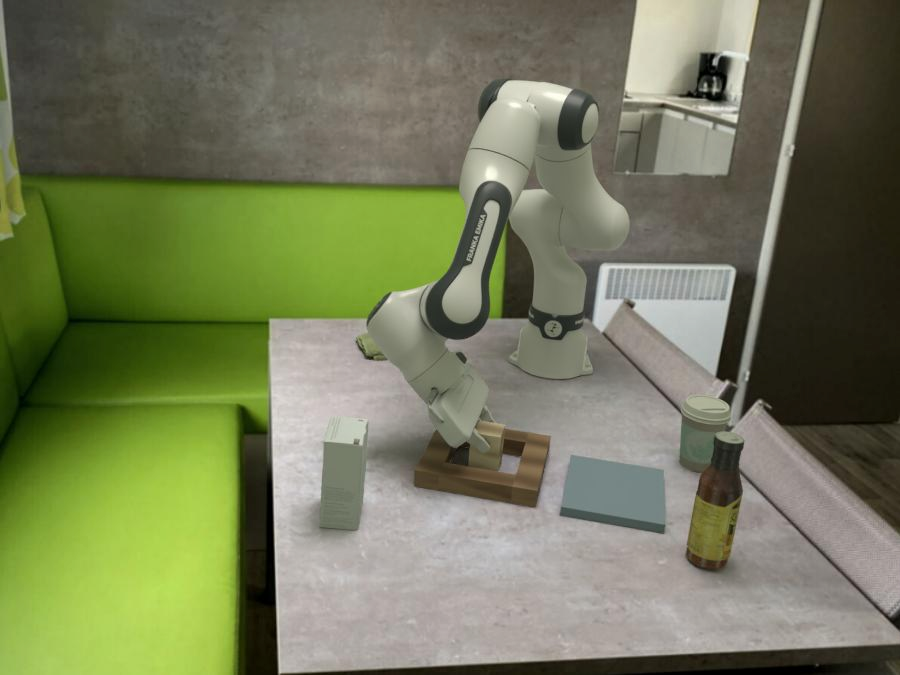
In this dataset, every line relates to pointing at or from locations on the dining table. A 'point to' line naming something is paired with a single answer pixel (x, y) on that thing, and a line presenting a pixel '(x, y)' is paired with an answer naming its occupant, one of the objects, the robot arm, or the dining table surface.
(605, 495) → the slate pad
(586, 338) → the robot arm
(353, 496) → the skincare box
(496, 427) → the maple peg
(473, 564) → the dining table surface
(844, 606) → the dining table surface
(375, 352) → the washcloth
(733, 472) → the sauce bottle
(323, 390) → the dining table surface
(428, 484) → the pocket block
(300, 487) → the dining table surface
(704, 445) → the coffee cup
